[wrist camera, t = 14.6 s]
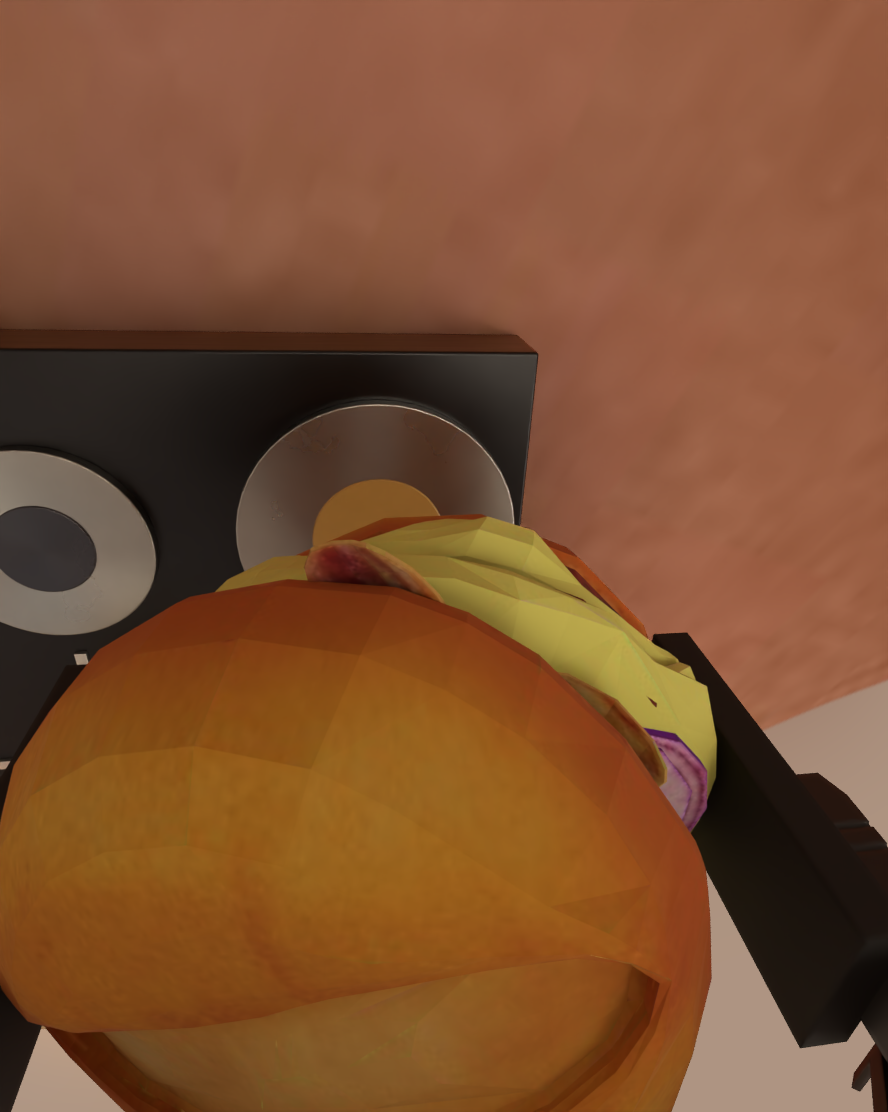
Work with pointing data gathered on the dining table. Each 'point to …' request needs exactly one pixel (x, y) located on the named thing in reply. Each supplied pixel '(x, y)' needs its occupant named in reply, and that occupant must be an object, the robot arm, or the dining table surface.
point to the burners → (262, 516)
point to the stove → (220, 440)
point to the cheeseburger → (371, 840)
